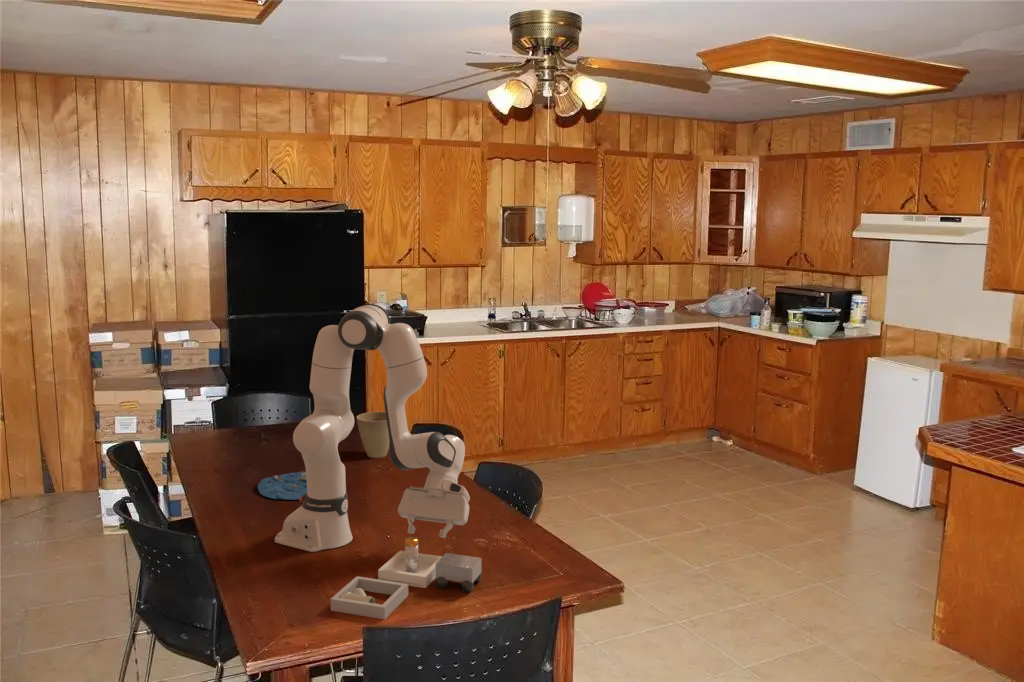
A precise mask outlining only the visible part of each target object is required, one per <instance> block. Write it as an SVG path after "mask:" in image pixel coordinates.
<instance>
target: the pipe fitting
mask: <svg viewBox="0 0 1024 682" xmlns="http://www.w3.org/2000/svg"><path fill="white" fill-rule="evenodd" d="M340 598H344V599H350V600H356V601H362V602H369V603H375V604H376V601H375V597H373V596H369V595H367V594H366V591H364V590H363V589H361V588H356V589H354V590H353V591H352V593H350V592H347V591H343V592H342V593H341V595H340Z"/></svg>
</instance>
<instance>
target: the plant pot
mask: <svg viewBox="0 0 1024 682" xmlns="http://www.w3.org/2000/svg"><path fill="white" fill-rule="evenodd" d="M356 423H357V426H358V427H357V428H358V430H359V435H360V440H361V443H362V445H363V449H364V450H365V452H366V455H367V457H369V458H371V459H379V458H380V459H382V458H384V457H386V456H387V455H388V453H389V433H388V426H387V419H386V413H385V411H369V412H365V413H360V414H358V415H356Z"/></svg>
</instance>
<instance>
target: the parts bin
mask: <svg viewBox="0 0 1024 682" xmlns="http://www.w3.org/2000/svg"><path fill="white" fill-rule="evenodd" d="M356 588H361V589H363V590H364V592H370V593H375V594H383V595H390V596H389V598H387V599H386V600H385V601H384V603H383V604H380V603H376V602H375V603H369V602H362V601H356V600H350V599H344V598H340V595H341V593H342V592H343V591H347V592H350V593H352V591H353V590H354V589H356ZM408 596H409V585H408V584H405V583H398V582H392V581H385V580H378V578H370V577H365V576H356V577H354V578H352V580H351V581H350V582H348V583H347V584H346V585H345V586H344V587H343V588H341V589H340V590H339V591H338V592H337V593H335V595H333V596H332V597H331V598H330V611H331V612H335V613H336V612H337V613H344V614H349V615H355V616H360V617H362V616H363V617H367V618H373V619H379V620H386V619H387V618H388V617H389V616H390V615H391V614H392V612H394V611H395V610H396V609H397V608H398V607H399V606H400V604H401V603H403V602H404V600H405V599H406V598H407V597H408Z"/></svg>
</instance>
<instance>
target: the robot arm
mask: <svg viewBox="0 0 1024 682" xmlns="http://www.w3.org/2000/svg"><path fill="white" fill-rule="evenodd" d="M389 315H390V314H389V313H388V311H387V310H385V308H384V307H382V306H380V305H377V304H372V303H368V304H364V305H361V306H358V307H356V308H354V309H352V310H351V311H349V312H347V313H346V314H345V315H344V316H343V317H342V318H341V319H340V321H339V323H338V324H329V325H325V326H324V327H322V328H321V329H320V330H319V331H318V334H317V335H316V336H317V337H316V340H315V344H314V348H313V353H312V360H311V370H310V377H309V378H310V380H309V391H310V393H311V394H312V397H313V403H314V410H313V412H312V414H310V415H308V416H306V417H304V418H303V419H302V420H301V421H300V422H299V424H297V426H296V427H295V429H294V431H293V432H292V433H293V434H292V441H293V445H294V447H295V448H296V450H297V451H298V452H299V453H301V456H302V460H303V463H304V466H305V472H306V477H307V493H306V494H304V495H303V496H302V497H300V498H299V499H300V500H298V502H299V503H300V502H302V505H300V506H299V507H298V508H296V510H294V511H293V512H291V513H290V514H289V515H288V516H287V517H286V518H285V519H284V522H283V526H282V530H281V531H279V532H278V533H277V534H276V536H275V537H274V543H277V544H280V545H283V546H287V547H291V548H295V549H299V550H304V551H306V552H311V553H315V552H319V551H322V550H328V549H329V550H330V549H331V550H332V549H336V548H340V547H342V546H346V545H347V544H349V543H351V542H352V540H353V534H352V531H351V527H350V522H349V516H348V507H349V504H348V503H349V501H348V500H349V499H348V491H347V483H346V482H347V481H346V480H347V478H346V466H345V464H344V462H342V461H341V457H340V454H339V450H338V447H339V443H340V442H342V441H343V440H345V439H346V438H347V437H348V436H349V435H350V433H351V432H352V430H353V428H354V427H355V416H354V413H353V412H352V409H351V404H350V403H351V402H350V383H351V374H352V365H353V364H352V363H353V356H354V351H355V350H359V351H361V350H366V351H375V350H377V351H379V353H380V355H381V357H382V360H383V363H384V367H385V371H386V378H387V379H386V385H385V386H384V388H383V403H384V404H383V405H384V412H385V413H386V419H387V426H388V433H389V449H388V453H389V455H388V456H389V458H390V462H392V464H393V465H394V466H395V467H396V468H397V469H398V470H400V471H403V472H404V471H409V470H415V469H420V468H421V469H422V468H428V470H429V472H428V474H427V477H426V481H425V482H424V483H425V484H424V486H423V487H421V486H418V487H417V486H413V485H411V486H410V487H407V488H406V489H404V491H403V494H402V498H401V500H400V502H399V504H398V506H397V513H398V514H399V516H400V517H401V518H404V519H406V520H407V524H408V527H407V533H408V534H415V531H416V527H415V525H413V523H414V522H415V520H418V521H419V520H420V521H428V522H433V523H440V524H441V523H442V524H446V525H445V527H444V528H443V529H441V528H440V530H439V533H438V536H439V537H440V538H442V539H443V538H444V539H445V538H447V534H448V532H449V531H450V530H452V528H454V527H453V526H454V525H458V526H464V525H465V524H467V523H468V519H469V514H470V505H469V502H470V499H471V497H470V496H471V495H470V494H469V492H468V490H467V489H466V488H465V486H464V485H461V484H458V479H459V475H460V473H462V469H463V465H464V460H465V456H466V445H465V443H464V441H463V440H462V439H461V438H460V437H458V436H456V435H453V434H446V435H444V434H443V433H441V432H440V431H429V432H423V433H417V434H416V433H415V434H412V433H410V431H409V428H408V421H407V414H406V402H407V400H408V399H409V398H410V397H411V396H412V395H413V394H416V392H417V391H419V390H420V389H421V388H422V387H423V386H424V384H425V383H426V381H427V378H428V368H427V364H426V360H425V357H424V353H423V351H422V348H421V345H420V343H419V340H418V338H417V336H416V333H415V332H414V329H413V328H412V327H411V325H409V324H407V323H404V322H396V323H391V318H390V316H389Z"/></svg>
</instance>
